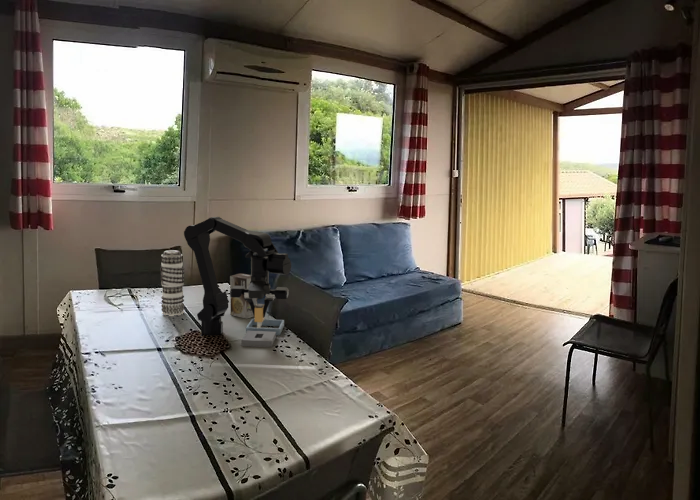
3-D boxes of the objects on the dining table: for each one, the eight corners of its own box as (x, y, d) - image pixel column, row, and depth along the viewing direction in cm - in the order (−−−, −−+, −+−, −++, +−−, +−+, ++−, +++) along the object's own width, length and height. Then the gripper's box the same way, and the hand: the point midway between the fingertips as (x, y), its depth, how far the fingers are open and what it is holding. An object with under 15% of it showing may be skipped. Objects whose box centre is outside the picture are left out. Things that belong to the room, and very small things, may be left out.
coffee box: (257, 315, 215) (258, 275, 213) (246, 319, 210) (246, 278, 207) (241, 311, 220) (241, 272, 218) (229, 314, 215) (229, 275, 212)
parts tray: (245, 336, 190) (245, 327, 189) (251, 326, 201) (251, 318, 200) (279, 337, 190) (280, 329, 189) (284, 327, 201) (284, 320, 200)
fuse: (254, 328, 179) (254, 306, 178) (256, 324, 184) (257, 303, 182) (262, 328, 179) (262, 307, 178) (264, 324, 184) (264, 303, 182)
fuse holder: (241, 348, 177) (241, 340, 177) (247, 338, 187) (247, 330, 187) (271, 349, 177) (271, 341, 177) (276, 339, 187) (276, 331, 187)
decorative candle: (156, 315, 210) (154, 252, 206) (167, 309, 219) (166, 248, 215) (178, 317, 209) (177, 253, 205) (189, 311, 218) (188, 250, 214)
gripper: (225, 275, 170) (226, 323, 173) (284, 277, 170) (284, 325, 173) (233, 268, 181) (233, 313, 184) (289, 270, 181) (288, 315, 184)
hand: (259, 317), depth 181 cm, fingers closed on fuse, 3 cm apart
